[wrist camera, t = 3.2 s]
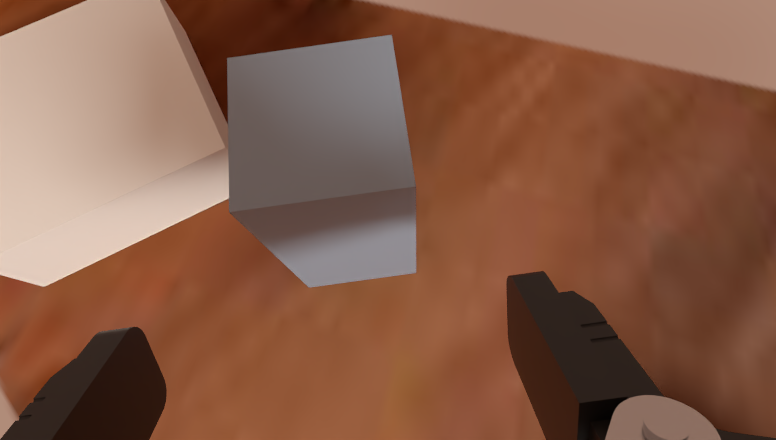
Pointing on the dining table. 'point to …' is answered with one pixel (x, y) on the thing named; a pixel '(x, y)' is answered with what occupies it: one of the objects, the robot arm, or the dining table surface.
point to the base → (102, 136)
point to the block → (324, 159)
